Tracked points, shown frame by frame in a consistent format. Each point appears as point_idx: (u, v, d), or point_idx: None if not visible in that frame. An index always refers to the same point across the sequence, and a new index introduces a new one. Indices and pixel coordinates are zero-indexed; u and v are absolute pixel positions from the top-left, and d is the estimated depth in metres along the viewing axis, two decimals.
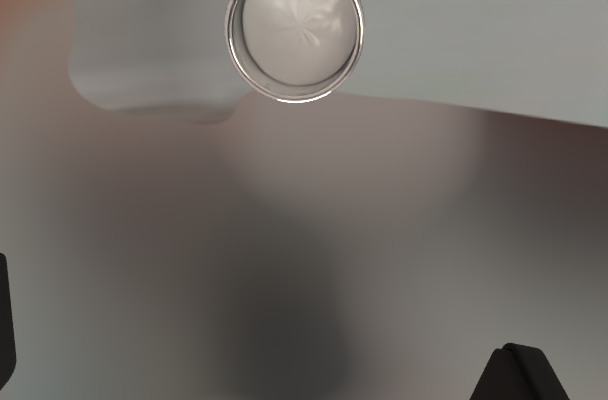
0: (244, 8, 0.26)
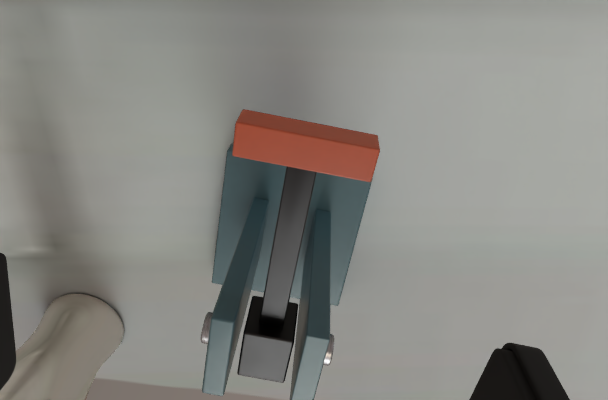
0: None
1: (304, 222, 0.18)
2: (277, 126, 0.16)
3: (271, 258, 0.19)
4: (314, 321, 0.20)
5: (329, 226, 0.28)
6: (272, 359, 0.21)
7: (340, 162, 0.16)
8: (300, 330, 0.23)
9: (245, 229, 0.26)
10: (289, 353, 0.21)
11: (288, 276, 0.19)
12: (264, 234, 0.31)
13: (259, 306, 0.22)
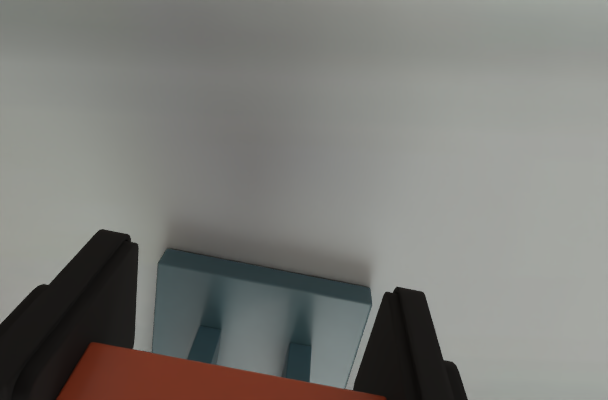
0: None
1: None
2: None
3: None
4: None
5: (307, 380, 0.19)
6: None
7: None
8: None
9: None
10: None
11: None
12: None
13: None
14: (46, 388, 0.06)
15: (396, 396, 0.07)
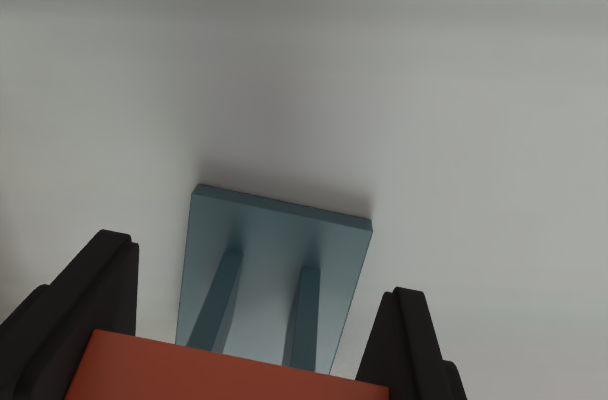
0: None
1: None
2: None
3: None
4: None
5: (317, 292, 0.22)
6: None
7: None
8: None
9: (208, 300, 0.20)
10: None
11: None
12: (238, 294, 0.25)
13: None
14: (47, 388, 0.06)
15: (395, 396, 0.07)
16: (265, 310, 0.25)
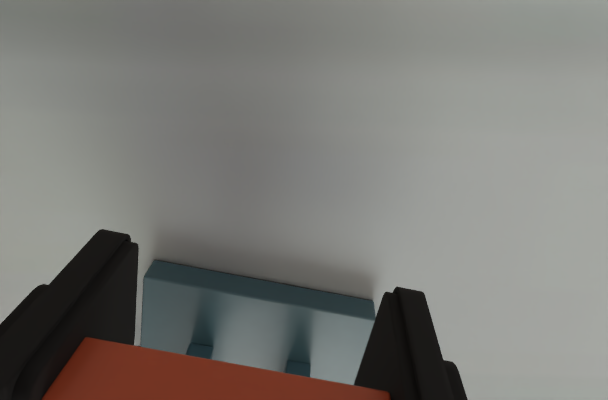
0: None
1: None
2: None
3: None
4: None
5: None
6: None
7: None
8: None
9: None
10: None
11: None
12: None
13: None
14: (46, 388, 0.06)
15: (396, 396, 0.07)
16: None
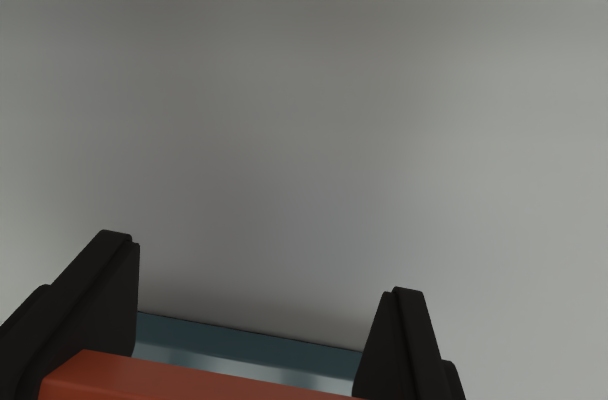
0: None
1: None
2: (149, 388, 0.06)
3: None
4: None
5: None
6: None
7: None
8: None
9: None
10: None
11: None
12: None
13: None
14: None
15: (394, 395, 0.07)
16: None
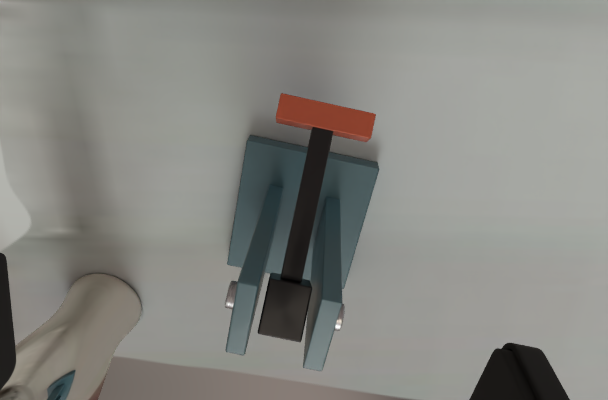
0: None
1: (323, 173, 0.24)
2: (307, 100, 0.24)
3: (296, 208, 0.24)
4: (328, 288, 0.23)
5: (339, 211, 0.31)
6: (292, 311, 0.23)
7: (349, 122, 0.24)
8: (313, 300, 0.26)
9: (263, 211, 0.29)
10: (308, 302, 0.23)
11: (309, 226, 0.24)
12: (278, 219, 0.33)
13: (278, 275, 0.25)
14: None
15: None
16: None
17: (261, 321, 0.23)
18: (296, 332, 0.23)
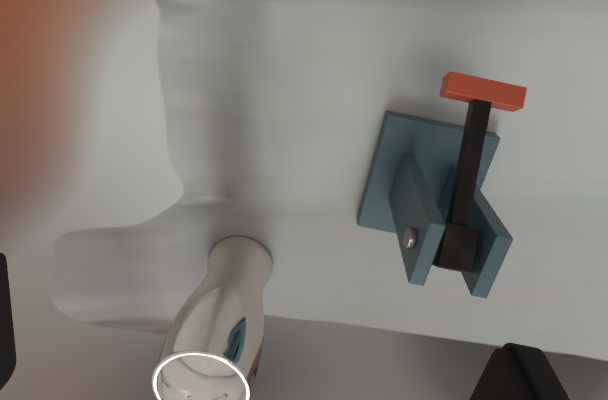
0: None
1: (484, 137, 0.30)
2: (469, 76, 0.30)
3: (462, 165, 0.29)
4: (497, 228, 0.28)
5: None
6: (465, 248, 0.29)
7: (506, 95, 0.29)
8: None
9: (413, 173, 0.34)
10: (477, 241, 0.29)
11: (473, 180, 0.29)
12: None
13: None
14: None
15: None
16: None
17: (440, 257, 0.29)
18: (468, 265, 0.29)
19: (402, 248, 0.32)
